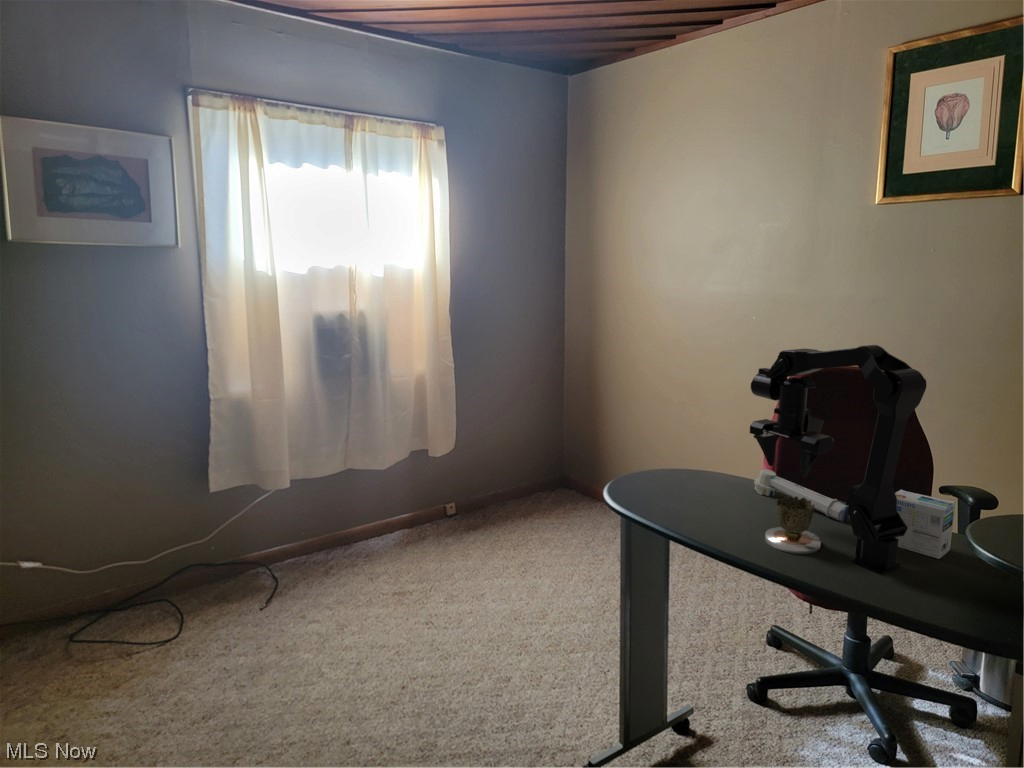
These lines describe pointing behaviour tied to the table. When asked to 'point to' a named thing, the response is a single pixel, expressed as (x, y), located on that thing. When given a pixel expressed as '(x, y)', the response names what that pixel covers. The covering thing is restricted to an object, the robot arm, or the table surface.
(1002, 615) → the table surface
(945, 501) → the light bulb box
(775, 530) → the rosette plate
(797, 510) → the cup
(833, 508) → the white long bar
